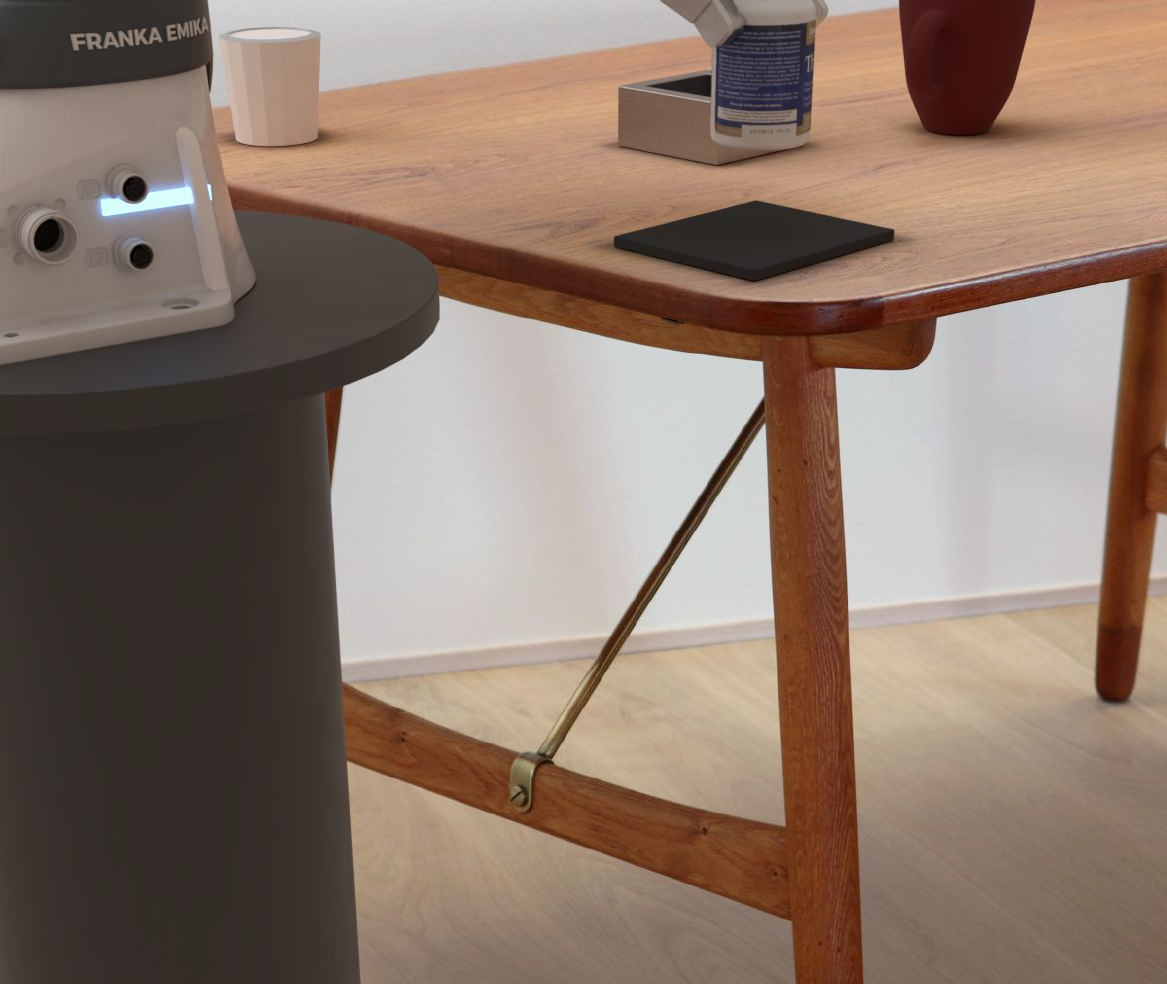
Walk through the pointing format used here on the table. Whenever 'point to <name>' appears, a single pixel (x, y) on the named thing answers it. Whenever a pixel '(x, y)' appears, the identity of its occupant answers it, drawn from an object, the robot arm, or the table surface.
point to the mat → (754, 239)
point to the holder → (673, 119)
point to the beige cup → (272, 84)
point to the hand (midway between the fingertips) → (773, 31)
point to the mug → (962, 59)
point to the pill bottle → (765, 78)
